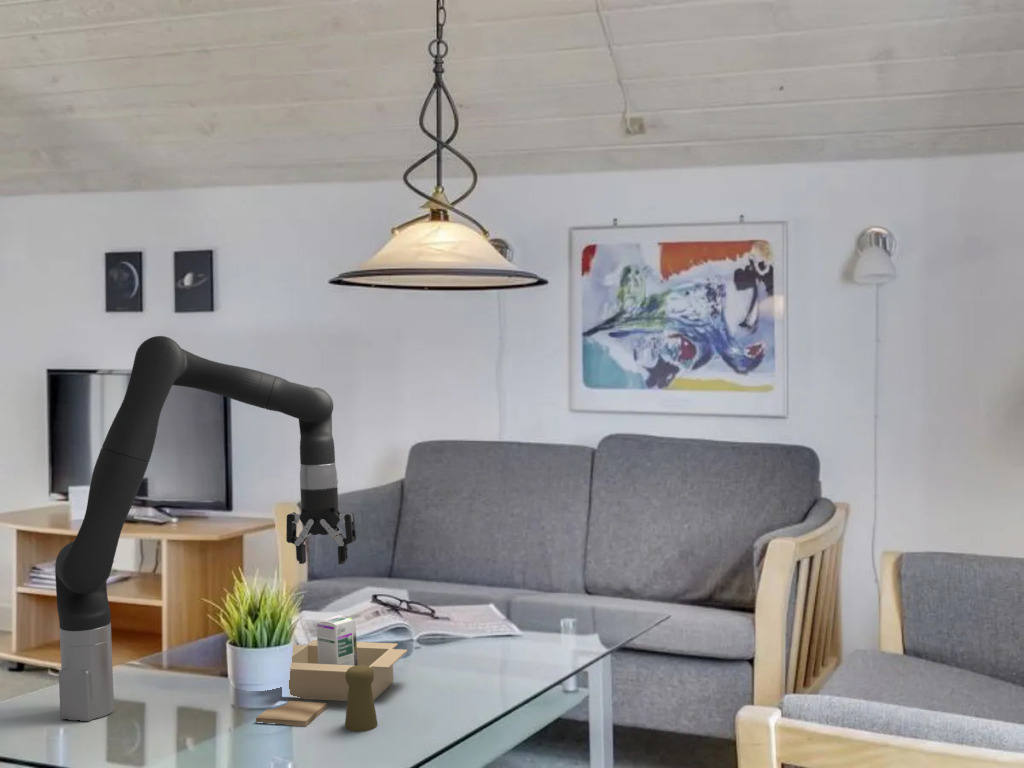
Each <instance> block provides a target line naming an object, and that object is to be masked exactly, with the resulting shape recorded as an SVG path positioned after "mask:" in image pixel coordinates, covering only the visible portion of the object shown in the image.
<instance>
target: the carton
mask: <svg viewBox="0 0 1024 768" xmlns="http://www.w3.org/2000/svg"><path fill="white" fill-rule="evenodd" d="M356 642H357V665H366V666H369V667H371V668H372V670H373V672H374V679H373V682H372V684H371V687H372V693H373V699H374V701H375V700H376V699H377V698H378V697H379V696H380V695H382V694H383V692H385V690H387V689H388V687H390V686H391V685H392V684H393V683H394V664H396V663H397V662H398V661H399V660H400V659H401V658H402V657H403V656H404V655H405V654H407V653H408V652H409V650H408V649H400V648H397V649H396V647H397V646H399V643H392V642H391V643H390V642H371V641H370V642H369V641H367V642H366V641H356ZM292 645H293V655H292V663H291V667H290V670H291V671H290V680H289V689H290V694H291V695H293V696H297V697H300V698H304V700H320V701H321V700H323V701H338V702H339V701H340V702H341V701H342V702H347V700H348V690H349V685H348V684H347V682H346V672H347V670H348V669H349V668H350V667H352V666H353V665H332V664H318V647H317V639H313V640H311V641H310V642H308V643H307V644H292ZM300 698H299V699H300Z"/></svg>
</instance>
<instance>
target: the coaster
mask: <svg viewBox="0 0 1024 768" xmlns="http://www.w3.org/2000/svg"><path fill="white" fill-rule="evenodd" d="M288 701H289V702H288V703H287V704H286V705H284V706H281V707H278V708H274V709H268V708H267V709H265V711H263V712H261V713H260V714H258V716H256V717H255V723H256V722H263V723H275V724H274V725H276V724H285V725H284V726H293V727H294V726H296V727H307V726H308V725H310V724H311V723H312V722H313V721H314V720H315V719H316V718H317V717H318V716H320V715H321V714H322V713H323V712H324V711H325V710H327V708H328V703H327V702H315V701H300V700H299V701H297V700H288Z"/></svg>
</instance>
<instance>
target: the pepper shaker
mask: <svg viewBox="0 0 1024 768" xmlns="http://www.w3.org/2000/svg"><path fill="white" fill-rule="evenodd" d="M373 679H374V672H373V670H372V668H371V667H369V666H366V665H357V666H352V667H350V668H349V669H348V670H347V672H346V682H347V684H348V685H349V690H348V700H347V701H346V710H345V721H344V729H345V730H347V731H349V732H361V733H362V732H367V731H371V730H374V729H375V728H377V727H378V719H377V714H376V707H375V700H374V699H373V693H372V687H371V684H372V682H373Z"/></svg>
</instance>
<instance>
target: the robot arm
mask: <svg viewBox="0 0 1024 768" xmlns="http://www.w3.org/2000/svg"><path fill="white" fill-rule="evenodd" d="M131 369H132V370H131V373H130V378H129V380H128V381H129V382H128V384H127V388H126V391H125V394H124V397H123V400H122V402H121V404H120V407H119V409H118V410H117V413H116V414H115V417H114V418H113V421H112V423H111V424H110V427H109V430H108V431H107V434H106V437H105V439H104V441H103V443H102V446H101V448H100V451H99V453H98V456H97V459H96V461H95V463H94V468H93V470H92V471H93V472H92V474H91V478H90V485H89V489H88V490H89V491H88V498H87V503H86V504H87V505H86V510H85V514H84V517H83V520H82V523H81V525H80V528H79V530H78V532H77V534H76V536H75V539H74V541H71V542H69V543H68V544H66V545H65V546H63V548H61V549H60V551H59V553H57V556H56V560H55V565H54V569H55V570H54V572H55V573H54V575H55V591H56V592H55V593H56V606H57V607H56V608H57V615H58V621H59V625H58V626H59V642H60V643H59V646H60V647H59V648H60V649H59V650H60V669H59V671H58V683H59V684H58V685H59V686H58V688H59V689H58V690H59V710H60V714H59V715H60V720H62V719H68V720H67V721H77V720H80V721H79V722H90V721H92V720H95V719H99V718H102V717H105V716H107V715H109V714H111V713H113V712H114V711H115V703H114V702H115V700H114V699H115V697H114V696H115V695H114V673H113V672H114V671H113V651H112V650H113V646H112V644H113V643H112V622H111V621H112V620H111V617H112V616H111V615H112V614H111V606H110V602H109V598H108V588H107V585H108V584H107V581H108V580H109V578H110V575H111V572H112V570H113V565H114V561H115V560H114V559H115V556H116V551H117V548H118V545H119V540H120V537H121V533H122V530H123V527H124V524H125V522H126V520H127V518H128V515H129V513H130V511H131V508H132V506H133V505H134V504H133V503H134V502H135V500H136V497H137V494H138V492H139V489H140V486H141V484H142V482H143V479H144V477H145V475H146V471H147V468H148V466H149V462H150V460H151V457H152V453H153V450H154V445H155V442H156V438H157V432H158V426H159V422H160V417H161V413H162V410H163V407H164V405H165V402H166V400H167V398H168V395H169V393H170V391H171V389H172V386H176V387H177V386H179V387H186V388H192V389H197V390H201V391H205V392H209V393H211V394H212V393H213V394H216V395H219V396H222V397H225V398H229V399H231V400H234V401H237V402H241V403H243V404H247V405H250V406H254V407H257V408H261V409H264V410H266V411H267V410H268V411H271V412H272V411H273V412H276V413H277V412H279V413H282V414H284V415H287V416H289V417H293V418H295V419H298V425H299V426H298V427H299V434H300V435H299V436H300V439H299V460H300V461H299V463H300V466H299V467H300V468H299V488H300V489H299V490H300V508H301V513H296V512H294V511H293V512H291V513H289V514H287V515H286V536H285V537H286V538H285V539H286V541H285V542H287V543H288V544H293V545H294V546H295V557H296V558H295V559H296V561H297V562H298V563H299V565H302V564H303V565H304V564H305V563H306V562H307V549H306V544H305V542H306V541H307V539H309V537H310V536H311V535H312V536H317V535H321V536H327V535H329V536H330V537H331V538H332V539H333V540H334V541H335V542H336V543H337V545H338V546H337V562H338V565H344V564H345V563H346V561H347V560H348V558H349V557H348V545H349V544H352V543H353V542H355V541H356V540H357V533H356V525H355V524H356V523H355V513H353V512H348V513H340V511H339V490H338V488H339V487H338V484H339V483H338V482H339V481H338V472H337V467H336V452H335V450H336V449H335V441H334V437H333V412H334V402H333V401H334V400H333V398H332V397H331V395H330V394H329V393H328V392H327V391H326V390H325V389H323V388H320V387H312V386H308V385H304V384H300V383H296V382H291V381H288V380H287V379H285V378H282V377H279V376H277V375H273V374H271V373H267V372H263V371H260V370H255V369H252V368H247V367H242V366H238V365H231V364H226V363H223V362H222V363H221V362H218V361H214V360H210V359H207V358H204V357H202V356H198V355H197V354H194V353H192V352H189V350H185V349H184V348H183V347H182V348H181V346H180V344H179V343H177V341H175V340H174V339H172V338H170V337H168V336H165V335H155V336H152V337H149V338H147V339H146V340H144V341H143V342H142V343H141V344H140V345H139V346H138V348H137V350H136V352H135V357H134V360H133V365H132V368H131ZM340 521H341V523H342V524H343V525H344V528H345V534H344V533H343V530H342V529H341V528H340V526H339V525H338V524H339V523H340ZM299 522H301V523H302V525H303V526H304V527H303V528H302V530H301V531H300V533H299V535H298V536H297V526H298V525H297V524H299Z"/></svg>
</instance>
